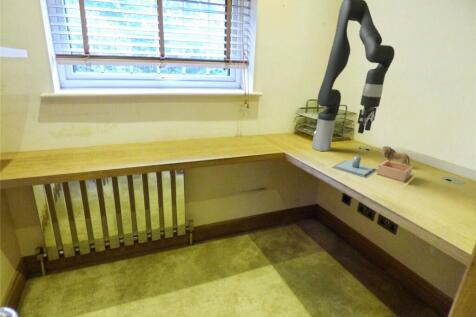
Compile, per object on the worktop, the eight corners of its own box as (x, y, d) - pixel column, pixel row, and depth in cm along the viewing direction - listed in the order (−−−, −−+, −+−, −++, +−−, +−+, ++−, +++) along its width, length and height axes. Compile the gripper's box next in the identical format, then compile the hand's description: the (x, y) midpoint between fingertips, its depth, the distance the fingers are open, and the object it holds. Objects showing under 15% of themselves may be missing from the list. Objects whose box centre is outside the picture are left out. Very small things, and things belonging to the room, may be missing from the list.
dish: (376, 175, 128) (378, 165, 126) (384, 169, 136) (386, 159, 134) (403, 183, 121) (406, 172, 119) (409, 176, 129) (412, 166, 127)
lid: (335, 167, 133) (338, 155, 131) (347, 161, 142) (349, 150, 140) (364, 176, 125) (366, 163, 123) (374, 169, 134) (377, 157, 132)
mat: (331, 168, 133) (331, 167, 133) (345, 161, 144) (345, 160, 144) (365, 179, 123) (366, 178, 123) (378, 170, 134) (378, 169, 134)
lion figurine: (378, 163, 144) (382, 146, 141) (378, 160, 148) (382, 144, 145) (412, 169, 138) (416, 151, 135) (410, 166, 143) (415, 149, 140)
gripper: (368, 93, 130) (361, 128, 135) (356, 94, 120) (349, 132, 125) (386, 95, 125) (377, 131, 130) (375, 97, 115) (366, 136, 120)
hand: (363, 131), depth 128 cm, fingers open, 8 cm apart
